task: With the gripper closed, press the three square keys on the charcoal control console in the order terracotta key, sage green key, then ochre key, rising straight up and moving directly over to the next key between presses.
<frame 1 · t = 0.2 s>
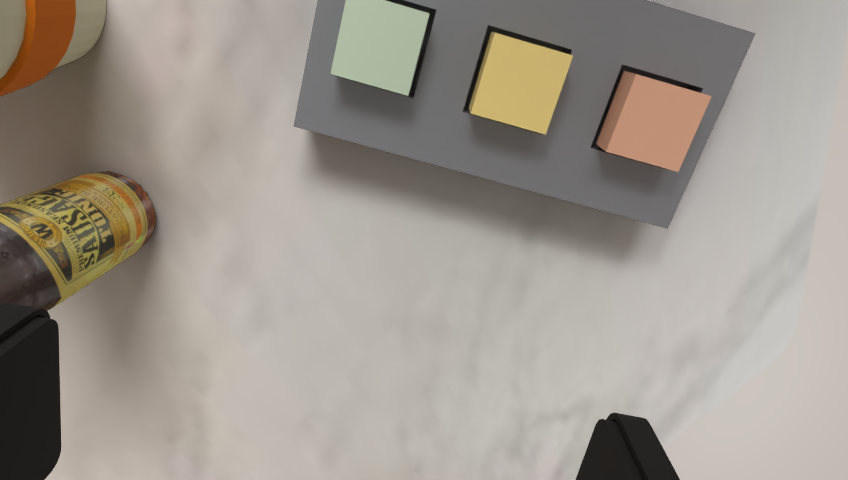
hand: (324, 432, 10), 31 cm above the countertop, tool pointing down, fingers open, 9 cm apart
sage key: (380, 43, 32), point 5 cm above the countertop, slide at 0.0 cm
sauce bottle: (116, 207, 41), on the countertop
console: (508, 75, 37), on the countertop
terracotta key: (651, 121, 33), point 5 cm above the countertop, slide at 0.0 cm
ochre key: (518, 83, 33), point 5 cm above the countertop, slide at 0.0 cm
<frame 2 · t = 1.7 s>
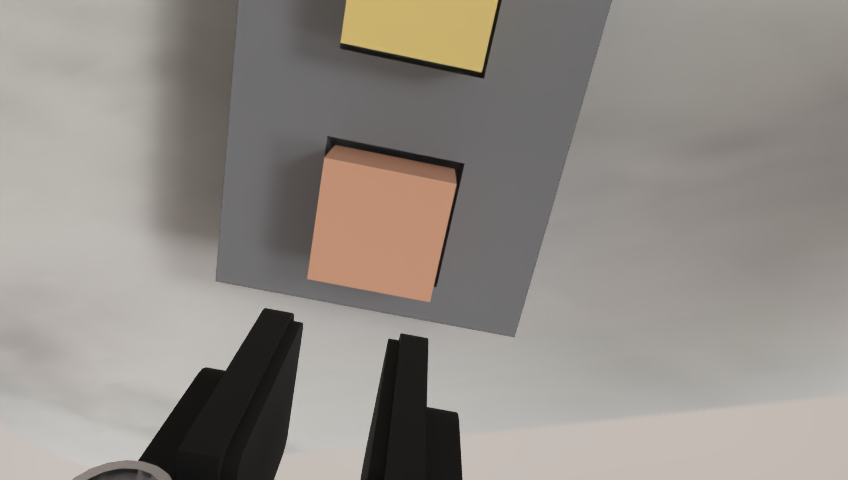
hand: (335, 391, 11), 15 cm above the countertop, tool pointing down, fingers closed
terracotta key: (382, 222, 21), point 5 cm above the countertop, slide at 0.0 cm
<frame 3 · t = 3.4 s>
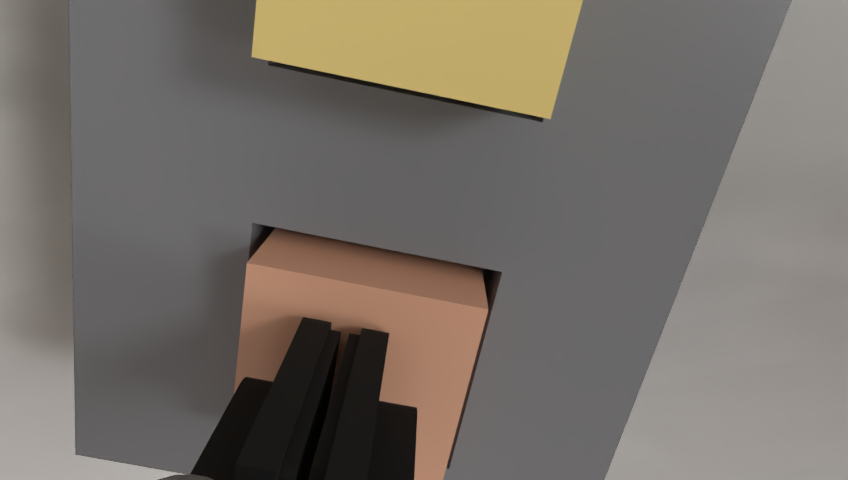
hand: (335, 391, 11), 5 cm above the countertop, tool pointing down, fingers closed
terracotta key: (357, 357, 12), point 4 cm above the countertop, slide at 0.8 cm, touching gripper
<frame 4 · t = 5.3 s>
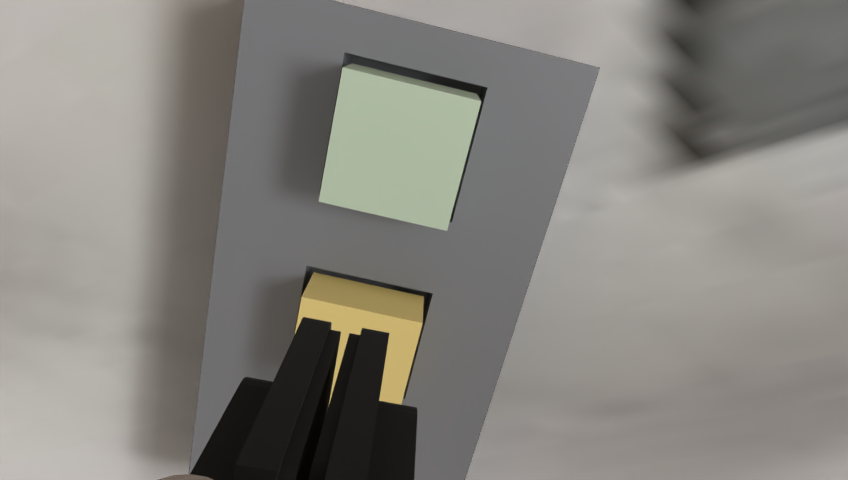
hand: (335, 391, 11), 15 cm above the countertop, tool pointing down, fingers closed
sage key: (399, 146, 20), point 5 cm above the countertop, slide at 0.0 cm
console: (368, 292, 27), on the countertop
ochre key: (354, 346, 22), point 5 cm above the countertop, slide at 0.0 cm
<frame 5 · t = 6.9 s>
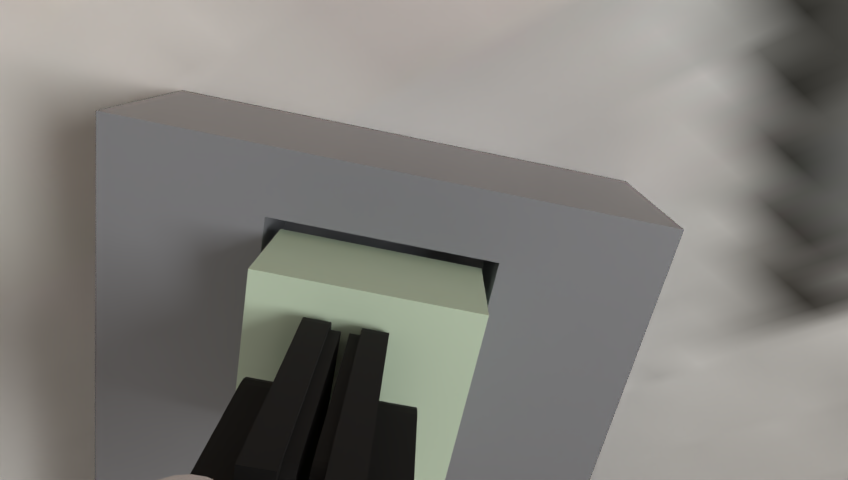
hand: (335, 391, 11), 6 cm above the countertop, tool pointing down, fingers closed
sage key: (358, 362, 12), point 5 cm above the countertop, slide at 0.1 cm, touching gripper
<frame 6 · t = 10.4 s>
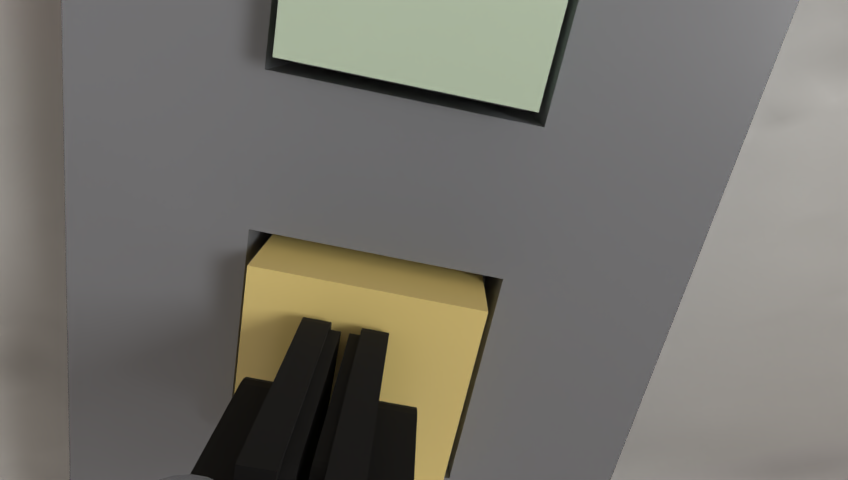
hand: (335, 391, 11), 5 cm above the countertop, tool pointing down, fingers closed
console: (377, 283, 16), on the countertop
ochre key: (357, 359, 12), point 4 cm above the countertop, slide at 1.1 cm, touching gripper
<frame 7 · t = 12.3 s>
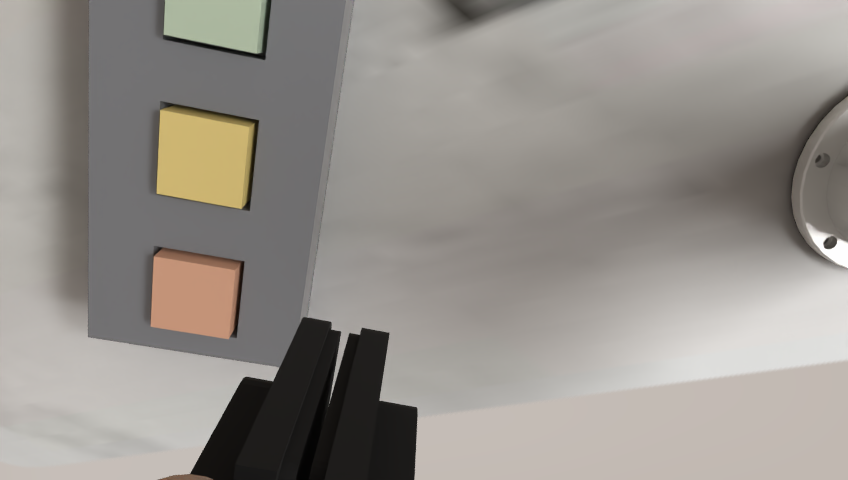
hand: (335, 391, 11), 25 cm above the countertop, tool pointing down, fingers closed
console: (228, 143, 34), on the countertop
terracotta key: (198, 290, 33), point 4 cm above the countertop, slide at 1.3 cm
ochre key: (208, 156, 31), point 4 cm above the countertop, slide at 1.3 cm
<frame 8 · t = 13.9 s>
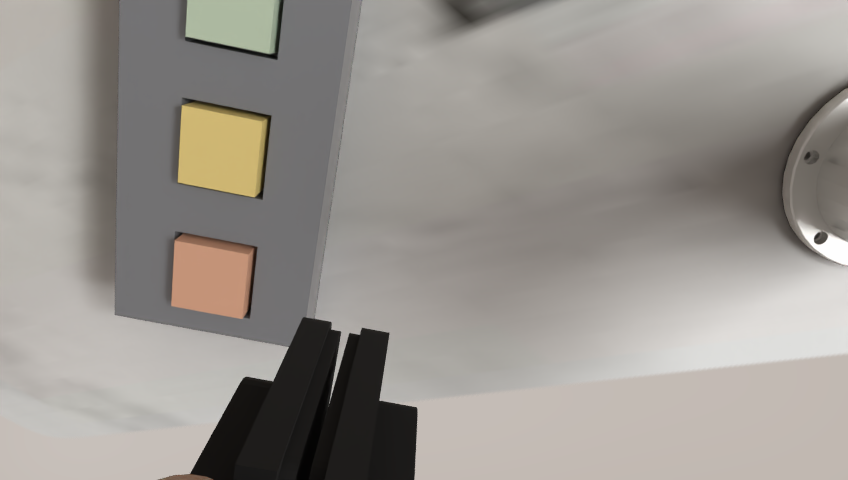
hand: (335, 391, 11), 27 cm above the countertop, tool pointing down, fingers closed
sage key: (237, 1, 31), point 4 cm above the countertop, slide at 1.3 cm
console: (245, 137, 37), on the countertop
terracotta key: (215, 273, 36), point 4 cm above the countertop, slide at 1.3 cm
ochre key: (225, 148, 33), point 4 cm above the countertop, slide at 1.3 cm
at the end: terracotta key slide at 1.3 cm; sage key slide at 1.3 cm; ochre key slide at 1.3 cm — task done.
